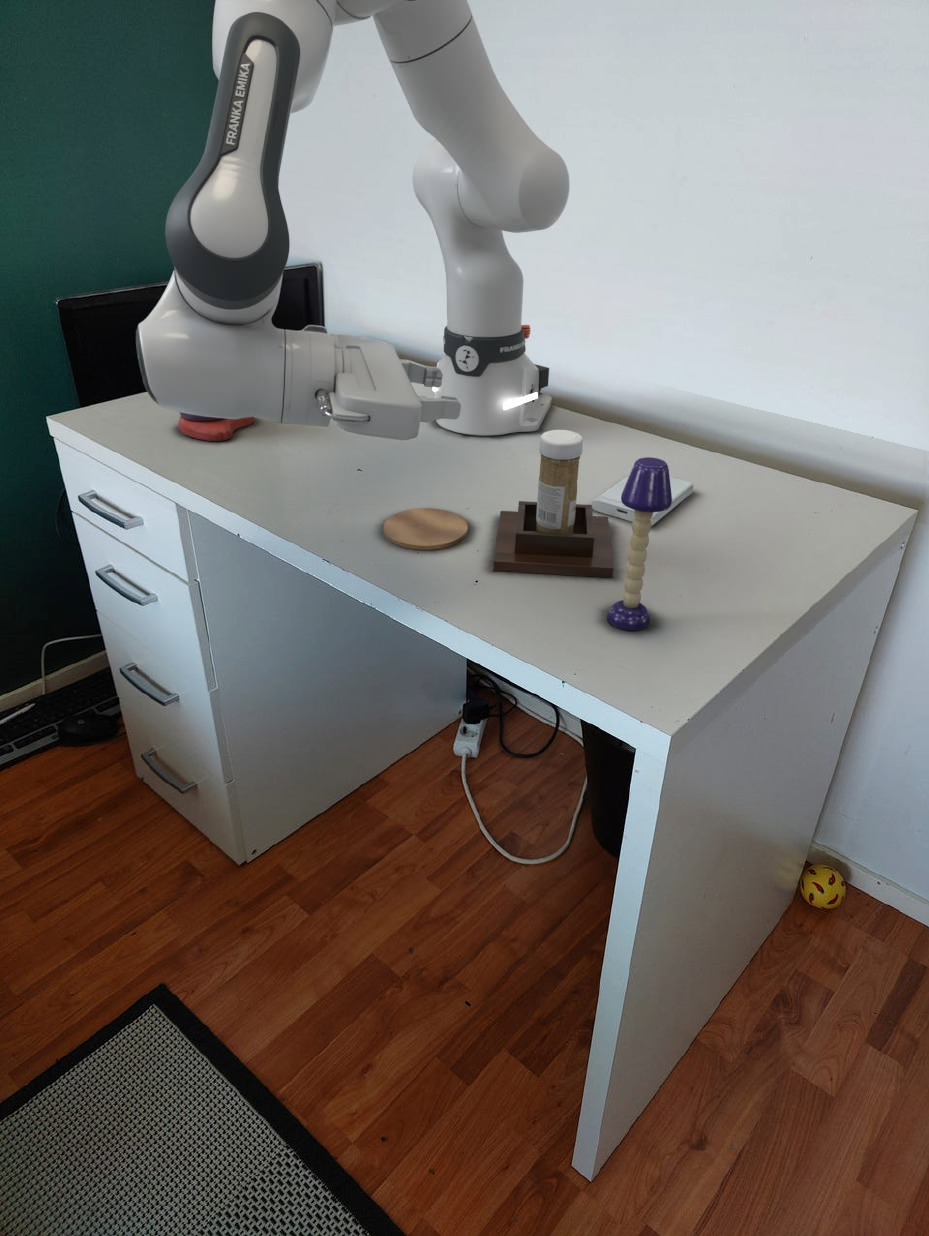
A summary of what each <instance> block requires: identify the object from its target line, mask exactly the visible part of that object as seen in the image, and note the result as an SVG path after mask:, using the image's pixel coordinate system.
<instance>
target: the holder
mask: <svg viewBox="0 0 929 1236" xmlns="http://www.w3.org/2000/svg"><path fill="white" fill-rule="evenodd" d="M592 507H593V504H580V503H579V504H578V503H576V510H575V521H574V527H573V534H569V533H552V532H536V525H537V521H536V514H537V501H524V500H518V506H517V511H513V510H512V511H511V510H500V512H499V519H498V520H499V521H498V526H497V533H496V541H495V549H494V554H493V565H492V566H493V567H492V570H493V571H495V572H496V571H497V572H510V573H511V572H512V573H529V574H543V575H544V574H546V575H558V576H559V575H562V576H576V577H578V576H579V577H593V578H595V577H596V578H613V577H614V561H613V551H612V541H611V532H610V524H609V523H610V522H609V517H608V516H602V515H601V516H600V515H594V514H593V513H594V512H593V511H594V510H593V509H592Z"/></svg>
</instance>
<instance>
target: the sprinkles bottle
mask: <svg viewBox="0 0 929 1236" xmlns="http://www.w3.org/2000/svg"><path fill="white" fill-rule="evenodd" d="M583 442H584V439H583V436H582V435H581V434H580V433H578V432H575V431H571V430H566V429H552V430H548V431H544V432H543V433H542V434H541V436H540V441H539V454H540V463H539V477H538V483H537V485H538V486H537V500H536V502H537V514H536V521H537V525H536V532H552V533H569V534H573V527H574V521H575V510H576V504H577V498H578V497H577V496H578V478H579V468H580V459H581V456H582V453H583Z"/></svg>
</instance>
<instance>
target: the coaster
mask: <svg viewBox="0 0 929 1236" xmlns="http://www.w3.org/2000/svg"><path fill="white" fill-rule="evenodd" d="M468 533H469V525H468V523H467V521H466V519H464V517H462V516H460V515H459V514H457V513H455V512H452V511H450V510H446V509H440V508H431V507H429V508H427V507H425V508H424V507H423V508H421V507H420V508H413V509H412V508H411V509H407V510H403V511H400V512H397V513H395V514H393V515H391V516H390V517H389V518H387V519H386V521H385V522H384V524H383V534H384V536H385V538H386V539H387V540H388V541H389V542H390V543H392V544H394V545H397V546H399V547H401V548H402V547H403V548H405V549H411V550H418V551H433V550H441V549H446V548H450V547H452V546H455V545H458V544H459V543H461V542H462V541H463V540H465V538H466V537H467V535H468Z"/></svg>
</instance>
